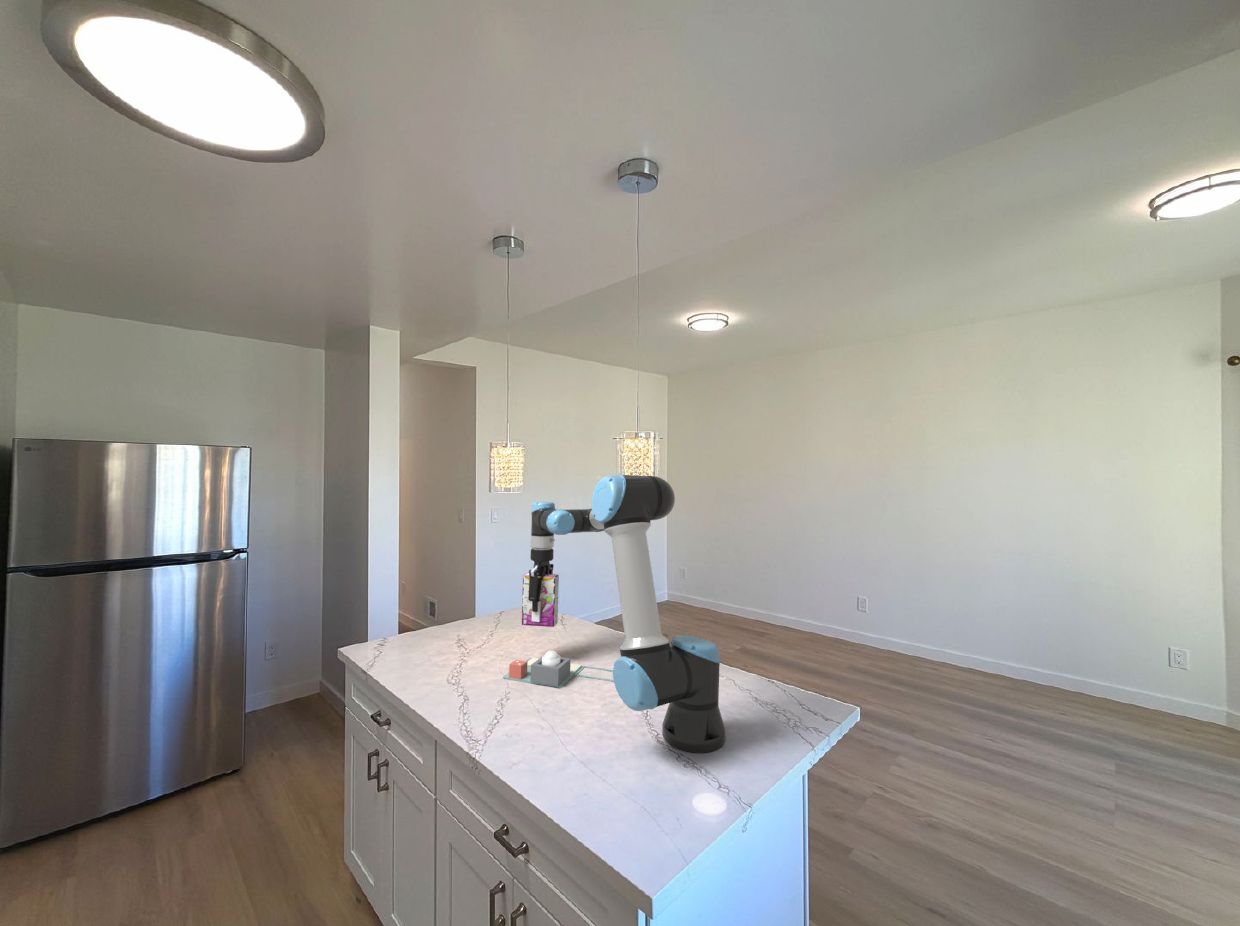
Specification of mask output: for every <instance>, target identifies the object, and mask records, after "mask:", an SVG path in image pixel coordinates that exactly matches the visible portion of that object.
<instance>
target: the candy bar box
mask: <svg viewBox="0 0 1240 926" xmlns="http://www.w3.org/2000/svg"><path fill="white" fill-rule="evenodd" d="M559 576H560V575H559V574H556V573H553V574H548V575H547V574H546V575H544V577H543V580H542V584H541V592H540V599H539V601H541V608H540V622H535V621H532V601H529V600H528V597H529V572H527V573H525V574H523V575H522V603H521V605H522V607H521V625H522V626H531V627H532V626H533V627H547V628H548V627H549V628H550V627H551V628H555V626H556V625H557V624H558V621H559V617H558V616H559V585H560V584H559V582H560V581H559V579H560V577H559ZM538 577H539V576H538ZM539 578H541V577H539Z"/></svg>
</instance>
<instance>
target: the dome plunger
mask: <svg viewBox="0 0 1240 926" xmlns="http://www.w3.org/2000/svg"><path fill="white" fill-rule="evenodd" d="M541 657H542V665H547V666H553V667H557V666H558V665H559V664H560V657H561V655H560V654H558V652H556V651H555V650H548V651H546V652H545V653H544V654H543V655H542V656H541Z"/></svg>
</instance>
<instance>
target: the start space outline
mask: <svg viewBox="0 0 1240 926" xmlns="http://www.w3.org/2000/svg"><path fill="white" fill-rule="evenodd" d="M584 668H587V669H594V670H599V671H601V670H602V671H607V672H613V669H609V668H608V669H607V668H604V667H603V668H602V667H595V666H588V665H582V667H581V668H580V669H579V670H578V671H577V672H576V673H575V674H574V675H573V677H581V678H587V679H593V680H601V681H607V682H613V683H614V680H613V679H610V678H602V677H597V676H589V675H583V674H580V673H581V671H582V670H584Z"/></svg>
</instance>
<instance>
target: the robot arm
mask: <svg viewBox="0 0 1240 926" xmlns="http://www.w3.org/2000/svg"><path fill="white" fill-rule="evenodd" d="M675 499H676V497H675V493H674V489H673V488H672V486H671V484H670V483H668V481H666V480H665V479H663V478H661V477H659V476H655V475H634V474H633V475H630V474H621V473H620V474H615V475H610V474H609V475H605V476H604V477H602V478H601V479H600V480H599V481H598V482H597V483H596V486H595V488H594V490H593V493H592V498H591V508H582V509H578V508H577V509H575V508H574V509H573V508H572V509H556V504H555V503H554V501H534V502H533V503H532V505H531V506H532V507H531V529H530V530H531V531H530V532H531V533H530V534H531V536H530V547H531V549H530V556H529V557H530V558H529V559H530V560H531V561H533V563H534V564H533V568H532V569H529V570H528V573H529V597H528V600H529V601H532V621H535V622H540V608H541V601H539V599H540V592H541V584H542V580H543V577H544V575H546V574H547V575H548V574H554V572H553V571H554V565H555V564H554V563H550V562H552V561H553V560H554V549H553V548H554V546H555V545H554V544H555V543H554V542H555V541H556V540H555V535H557V536H560V535H561V536H565V535H568V534H574V533H579V534H580V533H601V532H604V533H605V534H606V535H608V536H609V537H610V538H611V544H612V551H613V557H614V558H613V559H614V566H615V572H616V580H617V589H618V594H619V603H620V609H621V617H622V625H623V631H624V632H623V633H624V641H623V643H622V644H621V645H620V647H619V653H620V657H618V658H617V659H616V660H615V661H614V663H613V668H612V670H613V671H612V680H614V682H613V683H614V687H615V690H616V692H617V695H618V696H619V698H620V699H621V701H622V702H623V703H624V705H625V706H626V707H627V708H629V709H631V710H633V711H636V712H643V711H645V710H654V709H656V708H657V707H658V708H659V707H660V706H665V705H667V704H668V707H667V710H666V712H665V715H664V718H663V720H662V721H663V722H662V724H661V725H662V729H661V731H662V732H661V735H662V738H663V739H664V741H665V742H666V743H667V744H668V745H670V746H672V747H674V748H675V749H678V750H681V751H685V752H690V753H697V754H698V753H699V754H701V753H710V752H713V751H717V750H718V748H719V749H720V748H722V747H723V746H724V744H725V743H726V727H725V724H724V721H723V717H722V713H721V710H720V707H719V698H720V697H719V693H720V664H721V660H720V651H719V647H718V646H717V645H716V643H714V642H712V641H711V640H708V639H705V638H701V637H697V636H694V635H692V636H691V635H684V634H683V635H682V634H681V635H675V636H673V637H672V638H671V641H670V640H669V639H668V638H667V637H665V636H664V635H663V633H662V630H661V629H662V628H661V623H660V622H661V621H660V616H659V610H658V609H659V608H658V602H657V596H656V589H655V584H654V576H653V571H652V569H653V568H652V564H651V563H652V562H651V558H650V557H651V556H650V550H649V544H648V537H647V536H648V535H647V531H649V528H650V527H651V525H652V524H651V521H657V520H660V519H664V518H666V517H667V516H668V515H669V514H670V513H671V512H672V510H673V508H674V507H675V502H676V501H675ZM538 576H539V577H541V578H539V577H538ZM716 749H717V750H716Z"/></svg>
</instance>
